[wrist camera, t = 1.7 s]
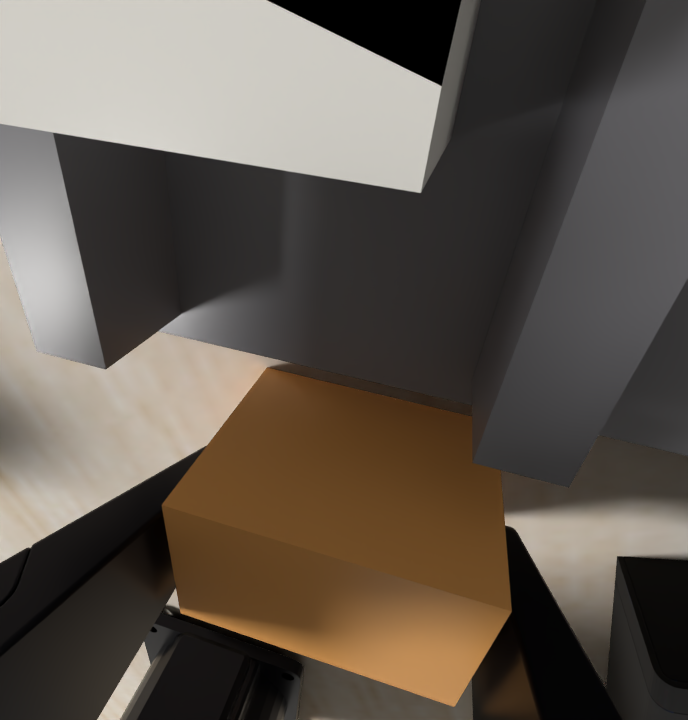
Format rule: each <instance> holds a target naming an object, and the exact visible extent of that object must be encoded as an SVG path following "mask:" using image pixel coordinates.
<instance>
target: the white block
mask: <svg viewBox="0 0 688 720" xmlns="http://www.w3.org/2000/svg"><path fill="white" fill-rule="evenodd" d="M480 2H481V0H461V4H460V9H459V13H458V17H457V22H456V26H455V30H454V35H453V39H452V44H451V48H450V52H449V57H448V61H447V65H446V70H445V74H444V78H443V83H442V86H440V85H438V84H436V83H434V82H432V81H430V80H428V79H426V78H424V77H422V76H420V75H418V74H416V73H414V72H412V71H409V70H407V69H405V68H403V67H401V66H399V65H397V64H395V63H393V62H391V61H389V60H387V59H385V58H383V57H381V56H379V55H377V54H375V53H373V52H371V51H369V50H367V49H365V48H363V47H361V46H359V45H357V44H355V43H353V42H351V41H349V40H347V39H344V38H342V37H340V36H338V35H336V34H334V33H332V32H330V31H328V30H326V29H324V28H322V27H320V26H318V25H316V24H314V23H312V22H310V21H308V20H306V19H304V18H302V17H300V16H298V15H296V14H294V13H292V12H290V11H288V10H286V9H284V8H282V7H279V6H277V5H275V4H273V3H271V2H269V1H267V0H0V124H5V125H11V126H17V127H23V128H29V129H35V130H41V131H47V132H53V133H59V134H66V135H72V136H78V137H84V138H90V139H96V140H102V141H108V142H114V143H120V144H126V145H132V146H138V147H144V148H151V149H157V150H163V151H169V152H175V153H181V154H187V155H193V156H199V157H205V158H211V159H217V160H223V161H229V162H236V163H242V164H248V165H254V166H260V167H266V168H272V169H278V170H284V171H290V172H296V173H302V174H308V175H315V176H321V177H327V178H333V179H339V180H345V181H351V182H357V183H363V184H369V185H375V186H381V187H387V188H393V189H400V190H406V191H412V192H418V193H421V192H422V190H423V188H424V186H425V185H426V183H427V181H428V179H429V177H430V175H431V174H432V172H433V170H434V168H435V166H436V165H437V163H438V161H439V159H440V157H441V156H442V154H443V152H444V150H445V148H446V146H447V145H448V143H449V141H450V139H451V136H452V131H453V127H454V122H455V117H456V113H457V108H458V103H459V99H460V94H461V90H462V85H463V80H464V76H465V71H466V67H467V62H468V57H469V53H470V48H471V43H472V39H473V34H474V30H475V25H476V20H477V16H478V11H479V7H480Z"/></svg>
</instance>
